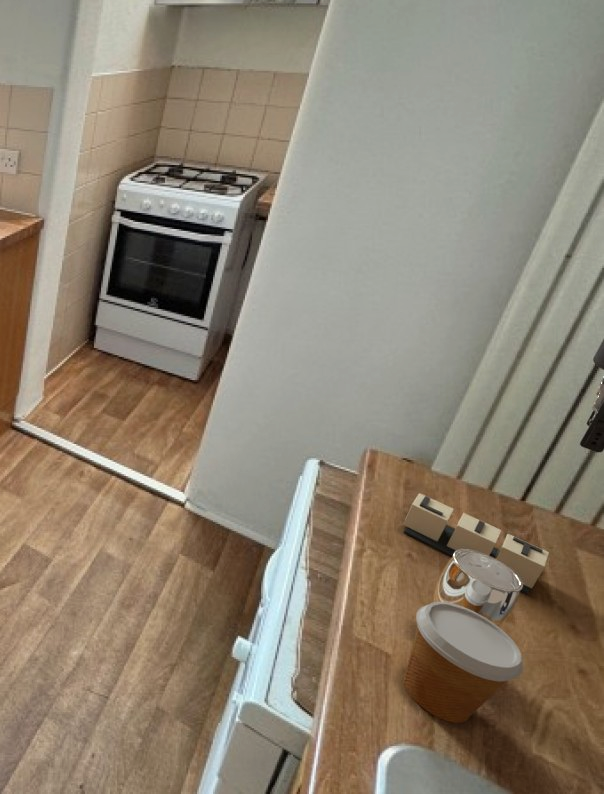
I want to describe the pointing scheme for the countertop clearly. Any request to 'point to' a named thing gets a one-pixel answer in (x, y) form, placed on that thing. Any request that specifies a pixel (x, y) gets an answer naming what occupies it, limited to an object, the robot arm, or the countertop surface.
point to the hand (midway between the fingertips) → (593, 438)
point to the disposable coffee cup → (458, 661)
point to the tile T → (522, 559)
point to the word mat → (443, 547)
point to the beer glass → (479, 585)
